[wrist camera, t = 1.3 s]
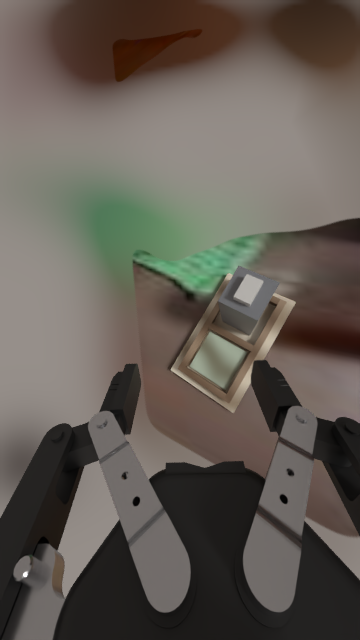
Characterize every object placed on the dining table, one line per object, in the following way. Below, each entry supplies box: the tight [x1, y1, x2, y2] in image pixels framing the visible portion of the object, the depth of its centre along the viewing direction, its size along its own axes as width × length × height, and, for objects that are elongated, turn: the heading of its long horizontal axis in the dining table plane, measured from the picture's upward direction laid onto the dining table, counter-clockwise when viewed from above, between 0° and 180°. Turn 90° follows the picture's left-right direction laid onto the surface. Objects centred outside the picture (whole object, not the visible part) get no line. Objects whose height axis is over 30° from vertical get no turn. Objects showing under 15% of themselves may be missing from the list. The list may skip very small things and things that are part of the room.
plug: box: [218, 266, 280, 336], centre depth 27 cm, size 5×5×12 cm
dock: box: [171, 273, 296, 413], centre depth 32 cm, size 20×12×2 cm, turn 148°
